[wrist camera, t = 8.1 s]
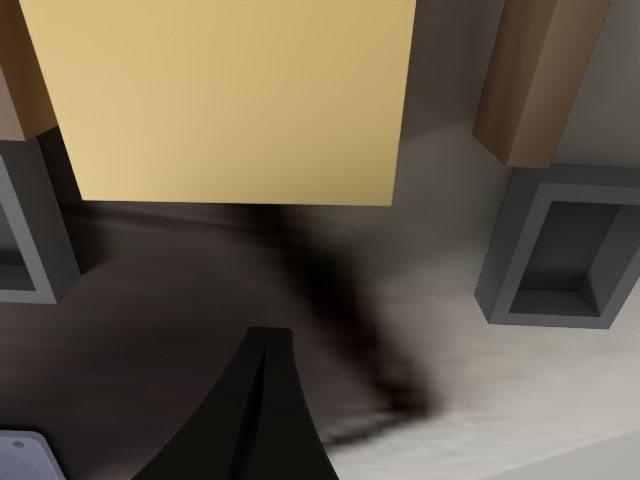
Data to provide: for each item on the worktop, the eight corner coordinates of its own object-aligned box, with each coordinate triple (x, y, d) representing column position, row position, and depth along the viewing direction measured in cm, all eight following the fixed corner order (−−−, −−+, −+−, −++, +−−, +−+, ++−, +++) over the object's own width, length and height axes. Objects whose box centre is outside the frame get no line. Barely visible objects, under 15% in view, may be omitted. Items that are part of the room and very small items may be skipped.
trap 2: (474, 294, 14) (488, 323, 13) (516, 162, 12) (539, 182, 11) (583, 300, 15) (608, 329, 13) (649, 169, 12) (689, 190, 11)
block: (142, 149, 12) (82, 199, 9) (71, -174, 8) (-67, -266, 5) (374, 154, 12) (391, 206, 9) (403, -166, 8) (447, -255, 5)
